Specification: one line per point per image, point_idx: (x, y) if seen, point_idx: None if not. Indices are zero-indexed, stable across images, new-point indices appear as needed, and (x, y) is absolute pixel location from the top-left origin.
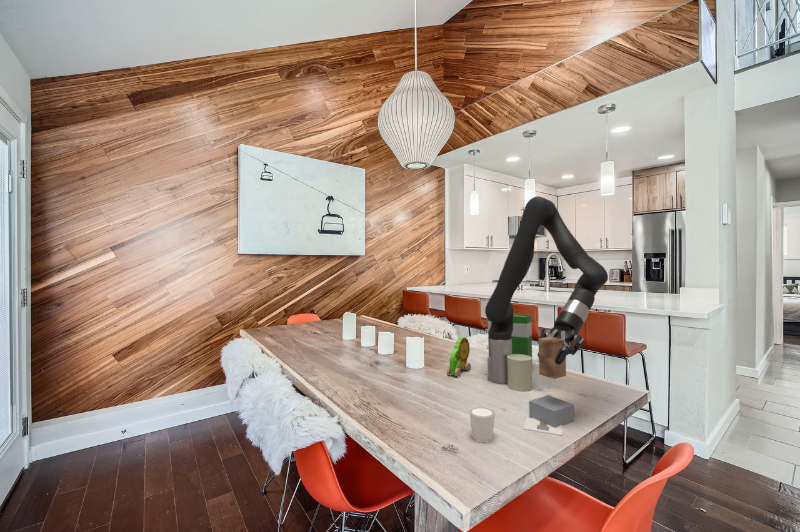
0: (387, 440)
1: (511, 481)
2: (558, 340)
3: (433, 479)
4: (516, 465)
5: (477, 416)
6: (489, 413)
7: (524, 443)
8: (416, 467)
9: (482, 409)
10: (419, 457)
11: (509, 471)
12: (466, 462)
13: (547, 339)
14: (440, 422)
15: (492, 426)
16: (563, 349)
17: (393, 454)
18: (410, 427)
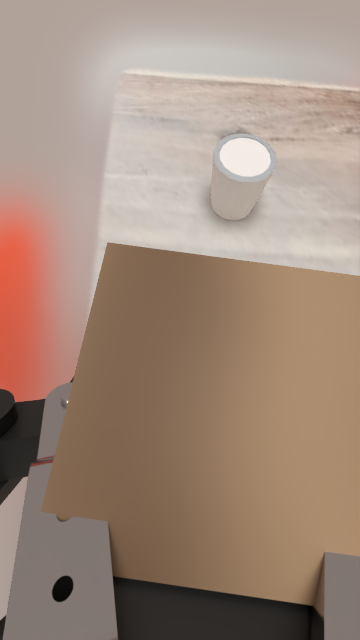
0: (322, 93)
1: (109, 137)
2: (101, 384)
3: (189, 78)
4: (126, 171)
5: (234, 135)
6: (228, 163)
7: (158, 238)
8: (227, 80)
9: (256, 169)
10: (246, 96)
11: (125, 152)
12: (188, 129)
13: (260, 324)
14: (331, 189)
15: (212, 182)
16: (67, 393)
17: (277, 79)
18: (344, 140)
